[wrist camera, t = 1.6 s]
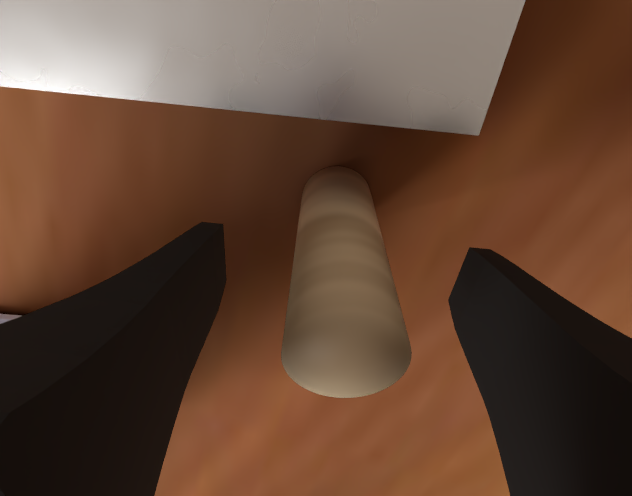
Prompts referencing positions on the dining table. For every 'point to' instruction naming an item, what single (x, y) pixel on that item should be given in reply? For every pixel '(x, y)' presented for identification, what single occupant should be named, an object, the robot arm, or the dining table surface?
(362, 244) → the tan cylinder
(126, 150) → the dining table surface
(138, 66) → the grey square frame block
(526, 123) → the dining table surface
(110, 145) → the dining table surface
